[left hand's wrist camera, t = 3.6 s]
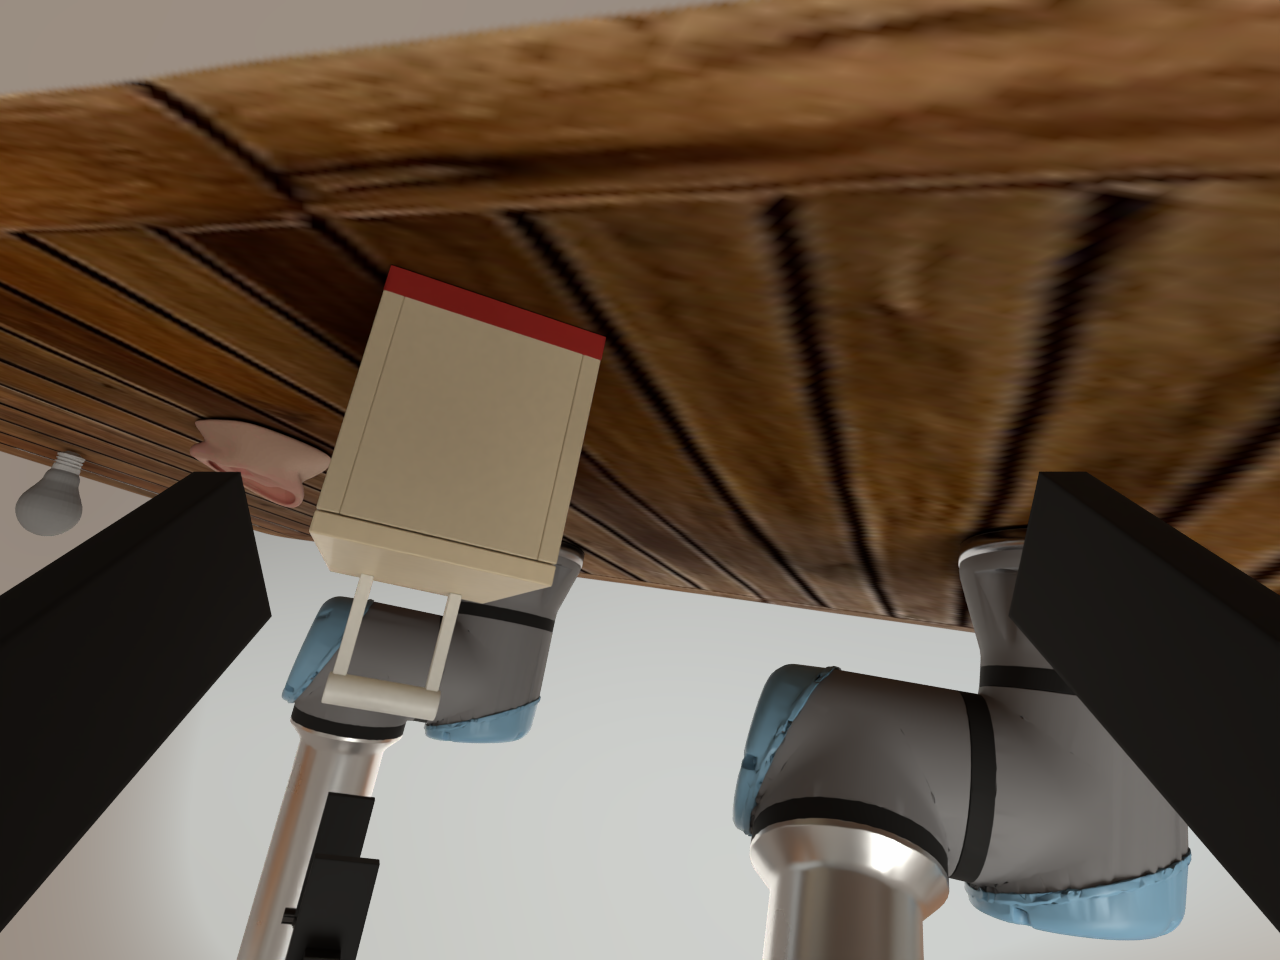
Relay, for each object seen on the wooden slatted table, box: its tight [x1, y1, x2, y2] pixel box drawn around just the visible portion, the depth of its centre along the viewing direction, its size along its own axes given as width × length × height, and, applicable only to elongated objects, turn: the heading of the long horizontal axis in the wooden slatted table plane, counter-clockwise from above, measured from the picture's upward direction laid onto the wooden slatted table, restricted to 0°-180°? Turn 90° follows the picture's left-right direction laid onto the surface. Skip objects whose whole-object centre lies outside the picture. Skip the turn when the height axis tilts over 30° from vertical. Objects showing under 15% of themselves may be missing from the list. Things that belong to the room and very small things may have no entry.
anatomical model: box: [190, 419, 331, 507], centre depth 63 cm, size 13×4×12 cm
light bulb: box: [15, 451, 85, 536], centre depth 85 cm, size 6×6×10 cm
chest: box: [316, 265, 606, 565], centre depth 38 cm, size 17×9×10 cm, turn 160°
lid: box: [309, 510, 556, 721], centre depth 36 cm, size 18×9×8 cm, turn 160°
